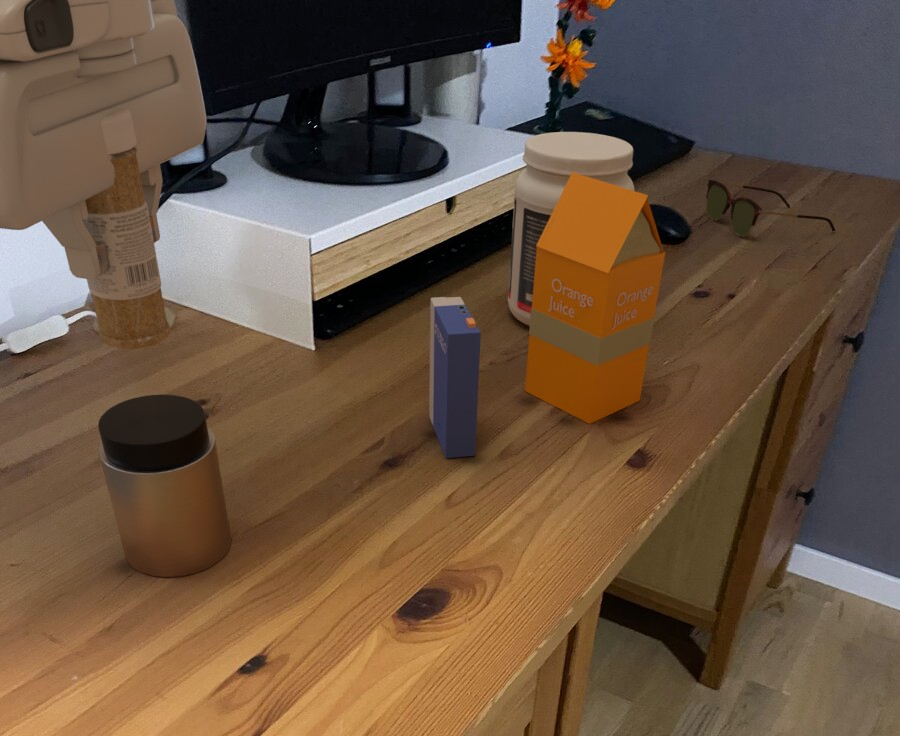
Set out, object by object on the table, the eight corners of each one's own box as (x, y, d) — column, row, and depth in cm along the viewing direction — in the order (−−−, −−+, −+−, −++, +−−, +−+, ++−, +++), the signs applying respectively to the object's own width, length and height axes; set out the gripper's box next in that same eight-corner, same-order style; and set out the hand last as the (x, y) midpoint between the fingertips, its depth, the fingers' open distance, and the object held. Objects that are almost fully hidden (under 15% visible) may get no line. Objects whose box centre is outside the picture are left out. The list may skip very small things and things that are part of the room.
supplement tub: (638, 328, 104) (667, 154, 92) (541, 346, 100) (557, 166, 88) (579, 288, 113) (598, 125, 101) (487, 303, 108) (495, 134, 97)
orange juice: (575, 369, 95) (600, 164, 83) (641, 400, 90) (678, 187, 78) (522, 391, 91) (540, 179, 79) (588, 425, 86) (618, 204, 74)
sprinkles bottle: (152, 317, 62) (110, 96, 53) (183, 340, 59) (144, 111, 51) (87, 334, 60) (32, 105, 51) (116, 359, 57) (64, 122, 48)
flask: (103, 565, 68) (67, 436, 61) (160, 508, 74) (132, 384, 67) (199, 587, 67) (173, 456, 60) (249, 526, 72) (231, 401, 65)
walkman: (475, 456, 82) (481, 327, 74) (445, 459, 81) (448, 330, 73) (457, 414, 87) (461, 291, 80) (428, 416, 87) (429, 293, 79)
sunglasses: (699, 212, 137) (708, 176, 134) (781, 213, 142) (792, 179, 139) (750, 243, 127) (761, 206, 124) (838, 244, 131) (851, 207, 128)
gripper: (120, -32, 56) (161, 204, 65) (-136, 13, 41) (-37, 312, 50) (213, -25, 54) (241, 215, 63) (-16, 23, 39) (63, 329, 48)
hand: (118, 259), depth 56 cm, fingers closed on sprinkles bottle, 4 cm apart
